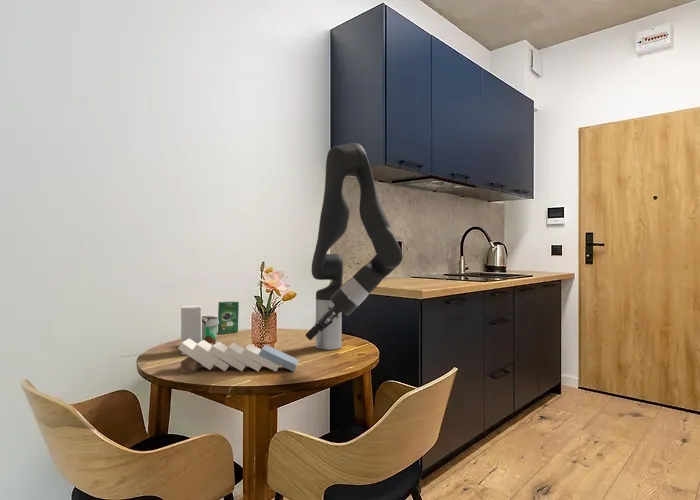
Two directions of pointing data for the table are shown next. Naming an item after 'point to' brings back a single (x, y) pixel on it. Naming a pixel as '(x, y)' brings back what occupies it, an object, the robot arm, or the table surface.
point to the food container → (209, 329)
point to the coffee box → (228, 317)
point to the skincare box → (191, 323)
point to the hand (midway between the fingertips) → (307, 337)
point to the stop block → (190, 365)
